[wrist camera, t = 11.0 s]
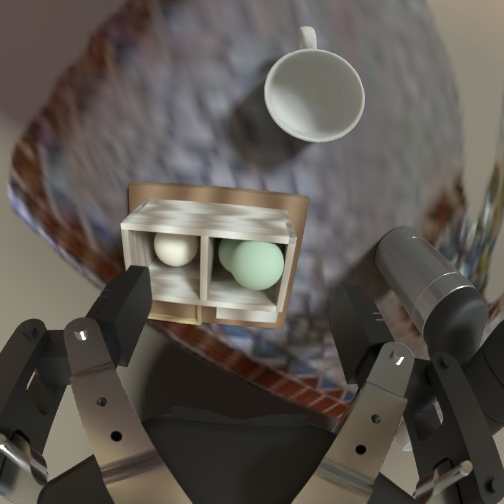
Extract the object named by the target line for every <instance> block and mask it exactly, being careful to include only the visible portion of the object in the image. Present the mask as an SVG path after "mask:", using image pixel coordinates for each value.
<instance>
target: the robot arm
mask: <svg viewBox="0 0 504 504" xmlns="http://www.w3.org/2000/svg"><path fill="white" fill-rule="evenodd" d="M375 262H376V266H377V268H378V269H379V271H380V272H381V274H382V275H383V277H384V278H385V280H386V281H387V283H388V284H389V286H390V287H391V288H392V290H393V291H394V293H395V294H396V296H397V297H398V299H399V300H400V302H401V304H402V305H403V307H404V308H405V310H406V311H407V313H408V314H409V316H410V318H411V319H412V321H413V322H414V324H415V326H416V327H417V329H418V330H419V332H420V334H421V335H422V337H423V339H424V340H425V342H426V344H427V346H428V354H429V357H430V361H428V360H423V359H418V358H414V355H413V353H412V352H411V350H410V349H409V348H408V347H406V346H405V345H403V344H401V343H398V342H395V340H394V338H393V336H392V334H391V332H390V331H389V329H388V327H387V325H386V323H385V321H383V317H382V315H381V314H380V312H379V310H378V308H377V306H376V304H375V303H373V302H372V301H371V300H370V299H369V298H368V297H364V295H363V294H362V292H361V290H360V288H359V286H358V285H348V284H341V285H340V286H339V287H338V290H337V293H336V296H335V299H334V303H333V306H332V309H331V312H330V316H329V325H330V329H331V332H332V335H333V338H334V341H335V345H336V348H337V351H338V355H339V358H340V361H341V365H342V368H343V372H344V375H345V379H346V382H347V384H358V390H357V391H356V393H355V395H354V397H353V398H352V400H351V402H350V404H349V405H348V407H347V409H346V411H345V412H344V414H343V416H342V417H341V419H340V421H339V422H338V424H337V425H336V427H335V429H334V430H333V431H332V432H330V431H329V430H327V429H325V428H323V427H320V426H317V425H314V424H311V423H307V418H306V414H273V415H268V416H263V417H258V418H252V419H246V420H236V419H232V418H229V417H226V416H223V415H219V414H216V413H213V412H210V411H207V410H201V409H193V408H186V407H179V406H172V411H171V414H166V415H160V416H156V417H152V418H149V419H147V420H144V421H142V422H140V420H139V418H138V416H137V414H136V412H135V410H134V408H133V406H132V404H131V402H130V400H129V398H128V396H127V394H126V391H125V389H124V387H123V385H122V383H121V380H120V378H119V376H118V373H117V371H116V368H117V366H118V365H119V366H124V367H128V364H129V362H130V359H131V356H132V354H133V351H134V349H135V347H136V344H137V342H138V339H139V337H140V334H141V332H142V330H143V327H144V325H145V323H146V320H147V318H148V316H149V313H150V311H151V307H152V290H151V281H150V271H149V268H148V267H147V266H138V265H130V266H129V268H128V269H127V271H126V272H125V273H124V275H118V276H116V277H115V278H113V279H112V280H110V281H109V283H108V284H107V286H106V287H105V288H104V290H103V291H102V293H101V294H100V296H99V297H98V298H97V300H96V302H95V303H94V304H93V306H92V307H91V309H90V311H89V312H88V314H87V315H86V316H85V317H81V318H77V319H74V320H72V321H71V322H70V323H68V324H67V325H66V327H65V329H64V330H47V329H46V327H45V324H44V323H43V322H42V321H41V320H39V319H29V320H26V321H24V322H22V323H21V324H20V325H19V326H18V327H17V328H16V330H15V331H14V333H13V334H12V336H11V337H10V339H9V340H8V342H7V343H6V345H5V346H4V348H3V350H2V351H1V353H0V497H1V498H3V499H6V500H8V501H10V502H12V503H14V504H497V503H498V502H499V501H501V500H502V498H503V497H504V469H503V465H502V463H501V459H500V456H499V453H498V450H497V448H496V445H495V442H494V440H493V437H492V435H494V434H495V433H497V432H498V431H499V430H500V429H501V428H503V427H504V320H503V321H502V322H500V323H499V324H498V326H497V327H496V328H495V329H494V330H493V332H492V333H491V334H490V336H489V337H488V338H487V339H486V341H485V342H484V343H483V345H482V346H481V347H480V348H479V345H480V341H481V337H482V334H483V331H484V328H485V325H486V322H487V318H488V305H487V302H486V300H485V299H484V297H483V296H482V295H481V294H480V293H479V292H478V291H477V290H476V288H475V287H474V286H473V285H472V284H471V283H470V282H469V281H468V280H467V279H466V278H465V277H464V276H463V275H462V274H461V273H460V272H459V271H458V270H457V269H456V268H455V267H454V266H453V265H452V264H451V263H450V262H449V261H448V260H447V259H446V258H445V257H444V256H443V255H442V254H441V253H439V252H438V251H437V250H436V249H435V248H434V247H433V246H432V245H431V244H430V243H429V242H427V241H426V240H425V239H424V238H423V237H422V236H420V235H419V234H418V233H417V232H416V231H415V230H413V229H411V228H408V227H400V228H396V229H394V230H392V231H390V232H389V233H388V234H387V235H385V236H384V238H383V239H382V240H381V242H380V243H379V245H378V247H377V250H376V254H375ZM33 372H35V375H34V377H33V379H32V381H31V383H30V385H29V388H28V389H27V384H28V382H29V380H30V378H31V376H32V374H33ZM67 385H71V387H72V391H73V394H74V398H75V401H76V405H77V408H78V411H79V414H80V417H81V420H82V423H83V426H84V429H85V432H86V435H87V437H88V440H89V443H90V445H91V448H92V450H93V453H94V454H93V455H91V456H90V457H88V458H86V459H85V460H83V461H82V462H80V463H79V464H77V465H76V466H74V467H72V468H71V469H69V470H67V471H66V472H64V473H62V474H61V475H59V476H57V477H56V478H54V479H52V480H50V481H49V482H47V478H48V472H47V465H46V461H45V459H44V457H43V456H42V454H43V450H44V447H45V444H46V441H47V438H48V434H49V432H50V429H51V426H52V423H53V420H54V417H55V415H56V412H57V409H58V407H59V404H60V401H61V399H62V396H63V394H64V392H65V389H66V387H67ZM26 389H27V390H26ZM437 400H438V403H439V405H440V408H441V410H442V413H443V422H442V424H441V423H440V420H439V417H438V415H437V412H436V409H435V406H434V404H435V403H436V401H437ZM402 416H403V417H404V420H405V424H406V427H407V431H408V434H409V438H410V442H411V445H412V449H413V453H414V457H415V461H416V466H417V469H418V474H419V479H420V480H419V481H418V483H417V485H416V491H415V492H414V493H413V496H410V495H409V494H408V493H406V492H405V491H404V490H402V489H401V488H400V487H398V486H397V485H396V484H394V483H393V482H392V481H391V480H389V479H388V478H387V477H385V476H384V475H383V474H382V473H380V472H379V471H380V469H381V467H382V465H383V463H384V460H385V458H386V456H387V454H388V451H389V449H390V447H391V444H392V442H393V440H394V437H395V435H396V432H397V429H398V427H399V424H400V421H401V419H402Z"/></svg>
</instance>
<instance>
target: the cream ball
mask: <svg viewBox="0 0 504 504" xmlns="http://www.w3.org/2000/svg"><path fill="white" fill-rule="evenodd" d="M154 248H155V252H156V254H157V256H158V257H159V259H160V260H161V261H162V262H164V263H165V264H167V265H170V266H182V265H185V264H187V263H189V262H190V261H191V260H192V259H193V258H194V257H195V255H196V253H197V250H198V237H197V236H196V235H185V234H173V233H161V232H157V234H156V236H155V239H154Z"/></svg>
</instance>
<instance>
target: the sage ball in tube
mask: <svg viewBox="0 0 504 504" xmlns="http://www.w3.org/2000/svg"><path fill="white" fill-rule="evenodd" d="M242 241H243V240H241V239H230V238H223V239H222V240H221V242H220V244H219V249H218V255H219V259H220V262H221V264H222V265H223V267H224V268H225V269H226V270H228V271H229V272H231V273H232V271H231V267H230V261H231V256H232V253H233V251H234V249H235V248H236V246H237V245H238V244H239V243H241V242H242Z"/></svg>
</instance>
